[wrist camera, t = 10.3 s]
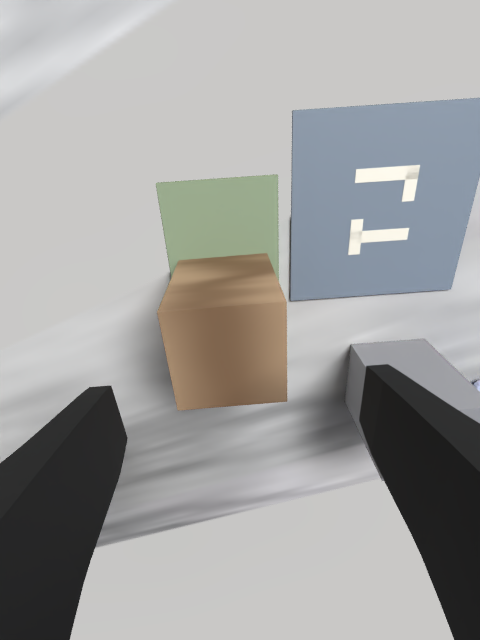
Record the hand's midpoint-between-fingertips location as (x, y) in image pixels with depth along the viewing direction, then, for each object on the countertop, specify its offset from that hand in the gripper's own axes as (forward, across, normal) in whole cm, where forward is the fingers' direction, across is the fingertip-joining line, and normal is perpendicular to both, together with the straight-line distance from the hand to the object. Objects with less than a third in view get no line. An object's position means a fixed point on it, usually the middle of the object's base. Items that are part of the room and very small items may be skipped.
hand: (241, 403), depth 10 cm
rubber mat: (+10, 0, +1) cm, 10 cm away
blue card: (+10, -8, -3) cm, 13 cm away
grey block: (+10, -9, +7) cm, 15 cm away
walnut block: (+9, 0, +1) cm, 9 cm away
